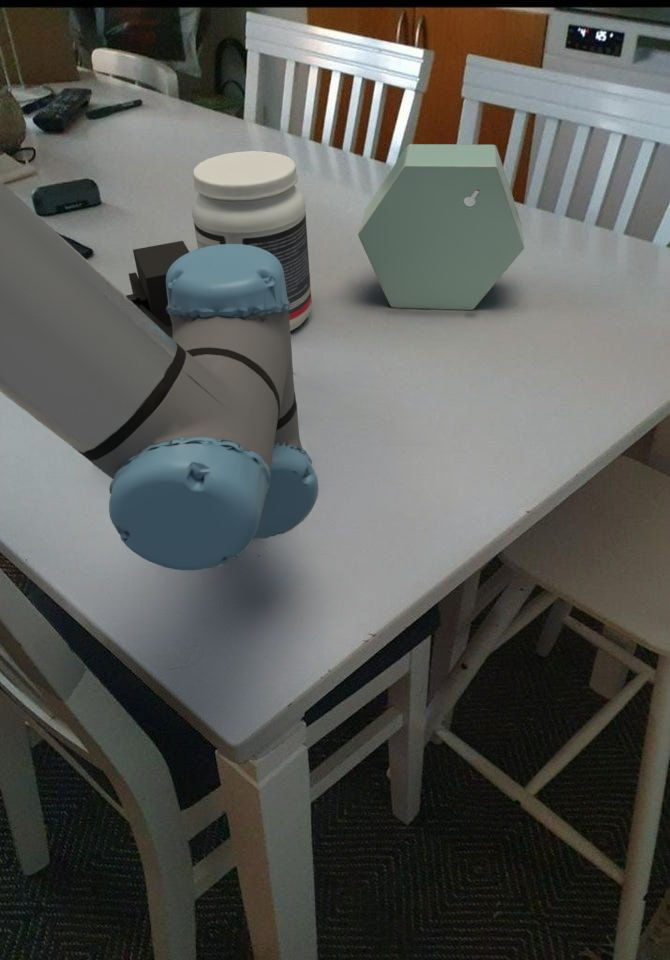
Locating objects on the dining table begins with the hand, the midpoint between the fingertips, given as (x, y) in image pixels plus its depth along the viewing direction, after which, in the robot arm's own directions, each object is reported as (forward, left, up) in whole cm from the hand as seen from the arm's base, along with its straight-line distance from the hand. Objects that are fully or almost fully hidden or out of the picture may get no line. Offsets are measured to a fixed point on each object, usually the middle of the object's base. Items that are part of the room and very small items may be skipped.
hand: (162, 280), depth 84 cm
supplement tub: (+6, +14, -11) cm, 19 cm away
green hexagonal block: (+27, +23, -11) cm, 37 cm away
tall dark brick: (+3, -4, -6) cm, 8 cm away
